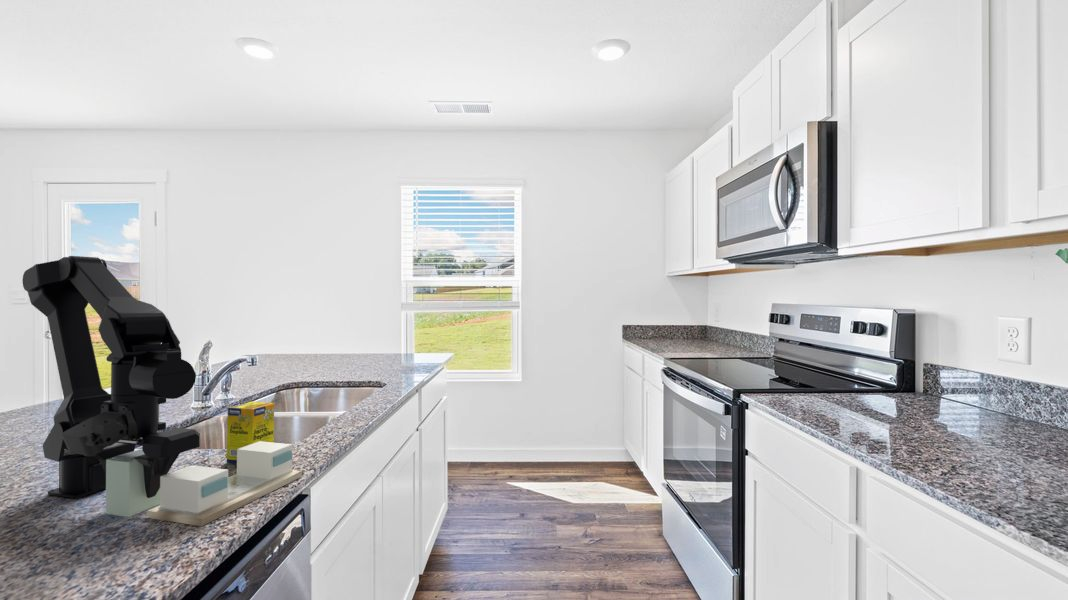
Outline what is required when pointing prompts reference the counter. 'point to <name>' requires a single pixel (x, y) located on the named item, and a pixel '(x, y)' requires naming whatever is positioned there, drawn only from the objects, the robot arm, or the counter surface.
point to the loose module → (127, 486)
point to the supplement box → (248, 426)
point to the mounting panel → (227, 506)
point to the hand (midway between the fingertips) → (134, 494)
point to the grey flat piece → (232, 491)
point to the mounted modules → (222, 477)
